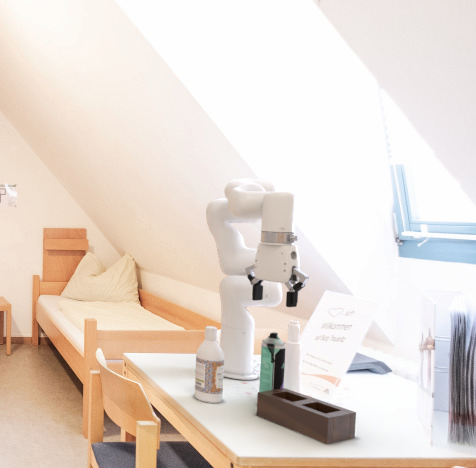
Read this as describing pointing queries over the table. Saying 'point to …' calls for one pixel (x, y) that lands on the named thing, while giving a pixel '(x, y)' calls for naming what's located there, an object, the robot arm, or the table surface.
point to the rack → (307, 415)
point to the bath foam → (209, 368)
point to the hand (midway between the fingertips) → (273, 303)
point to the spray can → (272, 363)
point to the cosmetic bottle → (293, 359)
